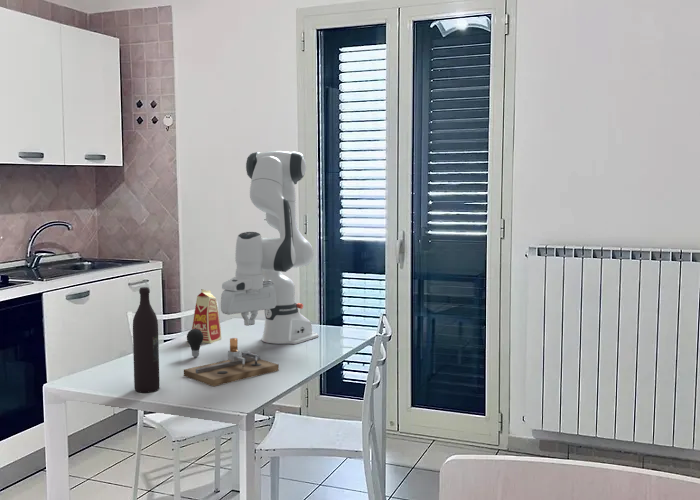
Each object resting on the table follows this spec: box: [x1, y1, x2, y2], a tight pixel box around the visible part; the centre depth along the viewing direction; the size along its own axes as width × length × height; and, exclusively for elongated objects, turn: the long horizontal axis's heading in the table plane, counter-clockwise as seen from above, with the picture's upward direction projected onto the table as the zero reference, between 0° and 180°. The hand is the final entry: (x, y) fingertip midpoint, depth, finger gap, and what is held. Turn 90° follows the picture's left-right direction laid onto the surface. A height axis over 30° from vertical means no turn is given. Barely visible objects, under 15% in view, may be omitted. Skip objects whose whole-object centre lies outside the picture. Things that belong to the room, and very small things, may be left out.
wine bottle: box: [132, 286, 160, 394], centre depth 206 cm, size 7×7×30 cm
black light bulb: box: [186, 328, 203, 359], centre depth 244 cm, size 6×6×10 cm
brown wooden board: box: [183, 358, 280, 387], centre depth 225 cm, size 25×16×2 cm, turn 136°
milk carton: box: [191, 289, 222, 344], centre depth 271 cm, size 9×9×20 cm
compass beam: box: [196, 351, 261, 374], centre depth 225 cm, size 24×6×3 cm, turn 136°
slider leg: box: [227, 337, 245, 367], centre depth 226 cm, size 2×7×8 cm, turn 46°
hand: (249, 325), depth 231 cm, fingers closed
